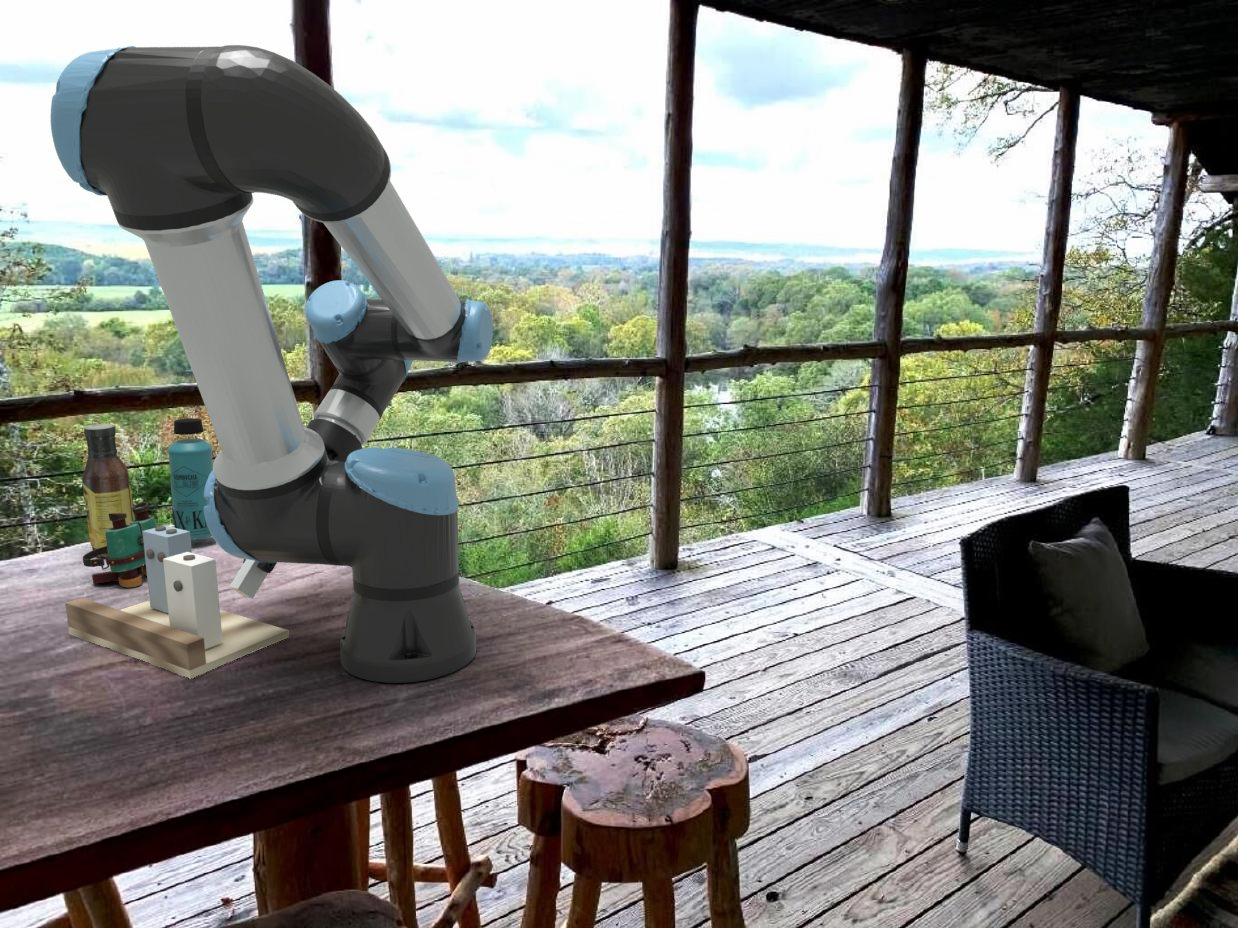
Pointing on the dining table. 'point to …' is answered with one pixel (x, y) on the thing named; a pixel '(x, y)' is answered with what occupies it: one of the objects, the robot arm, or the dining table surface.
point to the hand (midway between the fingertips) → (241, 592)
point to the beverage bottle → (189, 478)
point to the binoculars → (123, 548)
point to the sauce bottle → (104, 483)
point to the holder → (166, 636)
